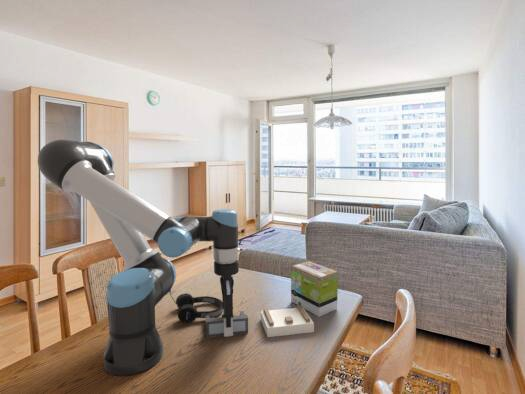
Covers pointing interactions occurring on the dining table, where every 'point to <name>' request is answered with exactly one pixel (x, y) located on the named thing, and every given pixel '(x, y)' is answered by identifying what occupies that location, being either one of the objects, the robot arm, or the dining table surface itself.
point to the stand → (286, 321)
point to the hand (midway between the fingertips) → (228, 332)
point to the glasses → (217, 325)
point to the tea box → (314, 287)
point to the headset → (190, 312)
